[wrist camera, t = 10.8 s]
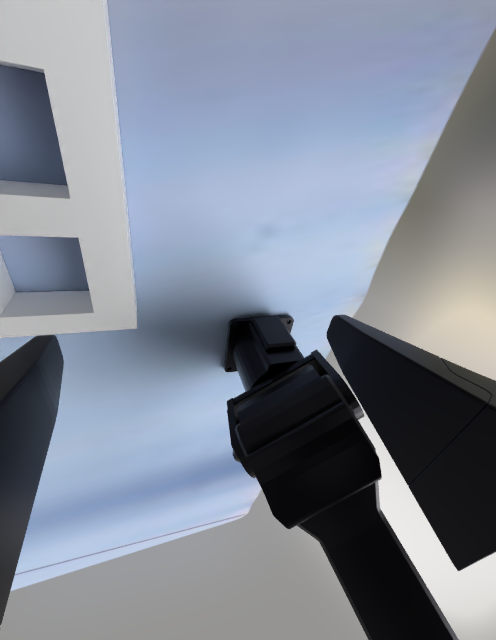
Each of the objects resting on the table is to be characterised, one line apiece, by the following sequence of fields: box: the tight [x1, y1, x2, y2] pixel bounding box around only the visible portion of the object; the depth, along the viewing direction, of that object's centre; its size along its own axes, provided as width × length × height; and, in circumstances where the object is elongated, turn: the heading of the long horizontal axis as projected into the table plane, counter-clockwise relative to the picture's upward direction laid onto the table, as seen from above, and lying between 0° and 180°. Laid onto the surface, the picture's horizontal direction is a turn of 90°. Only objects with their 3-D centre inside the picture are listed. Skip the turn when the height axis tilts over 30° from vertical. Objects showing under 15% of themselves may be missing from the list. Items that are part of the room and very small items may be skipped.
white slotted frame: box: [0, 0, 137, 338], centre depth 13 cm, size 22×10×3 cm, turn 172°
